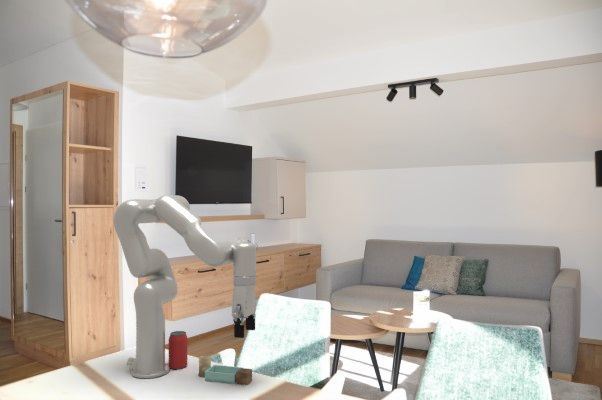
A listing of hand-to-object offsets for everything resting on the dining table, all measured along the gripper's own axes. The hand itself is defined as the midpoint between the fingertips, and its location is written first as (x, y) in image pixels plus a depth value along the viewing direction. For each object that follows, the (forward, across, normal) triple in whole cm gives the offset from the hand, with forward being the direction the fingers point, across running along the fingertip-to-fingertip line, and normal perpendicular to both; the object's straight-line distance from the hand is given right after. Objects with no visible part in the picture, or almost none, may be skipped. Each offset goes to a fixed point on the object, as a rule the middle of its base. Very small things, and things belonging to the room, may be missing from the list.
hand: (245, 333), depth 159 cm
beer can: (+16, -8, -29) cm, 34 cm away
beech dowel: (+16, -3, -16) cm, 23 cm away
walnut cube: (+16, 0, 0) cm, 16 cm away
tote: (+16, -2, -8) cm, 18 cm away
